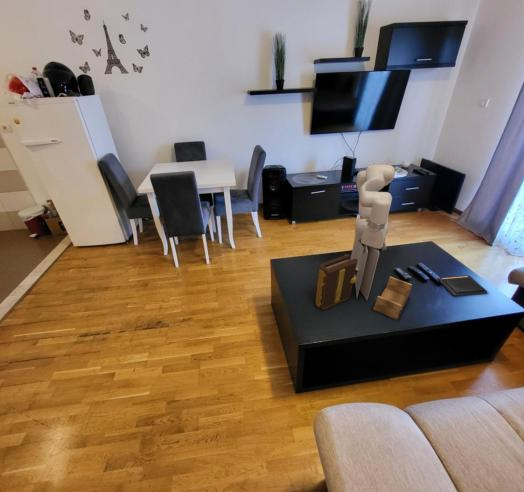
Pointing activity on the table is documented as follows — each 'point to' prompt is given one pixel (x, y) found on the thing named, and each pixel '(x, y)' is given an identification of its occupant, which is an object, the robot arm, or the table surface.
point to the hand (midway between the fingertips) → (369, 255)
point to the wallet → (462, 286)
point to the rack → (393, 298)
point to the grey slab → (366, 271)
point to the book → (335, 281)
